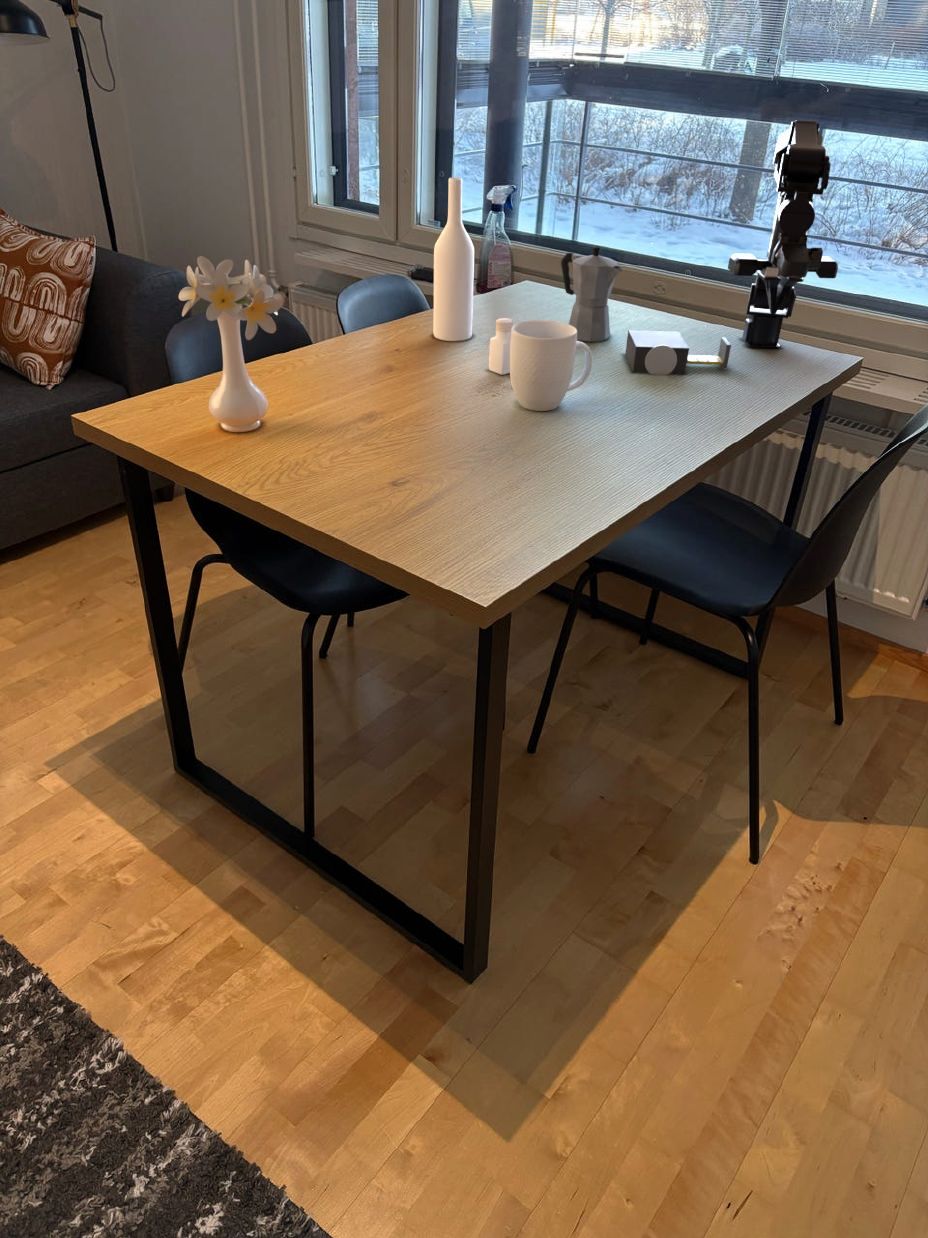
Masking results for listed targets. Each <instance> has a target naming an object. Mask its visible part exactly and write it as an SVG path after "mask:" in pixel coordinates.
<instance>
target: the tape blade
mask: <svg viewBox="0 0 928 1238" xmlns="http://www.w3.org/2000/svg"><path fill="white" fill-rule="evenodd" d="M731 348H732V344H731V343H730V342H729V340H728V339H727V338H726V337H725V336H724V337H723V336H722V337H721V338H720V343H719V348H718V354H717V355H709V354H708V355H706V354H705V355H704V354H703V355H701V354H688V359H687V365H688V364H689V365H691V364H692V365H719V366H721V368H722V369H725V370H726V369H727V368H728V363H729V360H730V359H729V358H730V355H731V354H730V353H731Z"/></svg>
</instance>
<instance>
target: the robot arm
mask: <svg viewBox="0 0 928 1238" xmlns="http://www.w3.org/2000/svg"><path fill="white" fill-rule="evenodd" d="M819 129H820V122H817V121H816V120H806V119H796V120H792V121H791V124H790V127H788V129H786V130H785V131H783V132H782V133H780V134H779V135H778V137H777V142H776V147H775V151H774V155H773V159H772V165H775V169H774V175H773V177H774V179H775V181H776V184H777V186H776V193H778V197H777V203H776V209H775V215H774V220H773V225H772V228H771V232H770V234H771V236H770V241H769V248H768V251H767V253H766V258H767V259H758V258H757V257H756V256H755V255H754V254H752V253H733V254H732V255H731V256H730V257H729V259H728V263H727V264H728V265H727V269H728V270H729V272H730V273H732V275H733V276H738V277H739V276H740V277H752V276H754V275H755V274H757V275H756V278H755V282H754V283H751V285H750V290H749V294H748V298H747V304H746V308H745V309H746V311H745V315H747V316H748V318H746V319H745V321H744V326H743V332H742V337H741V339H742V340H743V342H744V343H745V344H746V345H747V347H748V348H760V349H761V348H763V349H780V348H781V345H780V344H779V339H780V335H781V332H782V331H781V330H782V326H783V321H784V319H789V318H790V317H792V314H793V309H794V306H795V303H796V299H797V294H796V290H795V287H794V286H795V285H797V284H798V283H803V282H804V280H805V279H804V278H806V277H807V275H808V273H815V274H816V275H817V277H818V278H819V279H836V278H837V275H838V270H839V264H838V263H837V261H836V260H834V259H833V258H831V257H830V256H829V255H823V254H824V250H823V248H822V247H808V245H807V244H808V233H807V232H808V231H809V230H810V229H811V228H812V226H813V224H814V222H815V220H816V219H815V218H816V212H815V211H816V210H815V207H814V205H813V203H814V199H815V198H814V195H818V196H823V195H824V190H827V189H828V185H829V179H830V172H831V166H832V163H831V162H830V160H831V159H830V156H829V155H826V153H827V149H826V147H825V146H824V145H823V143H824V136H823V135H822V133H821V132H820V130H819Z"/></svg>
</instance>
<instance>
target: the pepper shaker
mask: <svg viewBox="0 0 928 1238" xmlns="http://www.w3.org/2000/svg"><path fill="white" fill-rule="evenodd" d="M513 325H514V319H511V318H507V317H505V318H504V317H502V318H498V319H496V320H495V335H494V336H493V337H491V338H490V339H489V353H488V355H489V356H488V370H489V371H491V372H493V373H497V374H498V375H501V376H503V375H507V374H510V344H511V343H510V342H511V330H512V327H513Z"/></svg>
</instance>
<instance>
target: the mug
mask: <svg viewBox="0 0 928 1238" xmlns="http://www.w3.org/2000/svg"><path fill="white" fill-rule="evenodd" d="M510 343H511V344H510V373H509V376H510V378H509V379H510V383H511V387H512V391H513V394H514V396H515V398H516V400H517V403H519V405H520V406H521V407H522V408H524V409H526V410H529V411H533V412H547V411H552V410H555V409H557V408H558V407H559V406H560V404H561V403H562V401H563V400H564V398H565V397H566V394H567V392H570V391H573V390H575V389H578V388H579V387H581V386H582V385H584V383H585V382H586V381H587V379H588V378H589V376H590V374H591V371H592V367H593V355H592V351H591V349H590V347H589V346H588V345H587V344H586V343H584V341H580V340H577V329H576V328H575V327H573V326H571V325H569V323H566V322H562V321H556V320H555V321H554V320H546V319H545V320H542V319H541V320H540V319H539V320H537V319H534V320H526V321H520V322H517V323H514V324H513V327H512V330H511V342H510ZM577 349H582V350H583V352H584V354H585V364H584V368H583V371H582V373H581V375H580V376H579V377H578V378H577V379H576V380H574V381H573V382H572V381H571V380H572V377H573V371H574V368H575V361H576V354H577Z"/></svg>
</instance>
